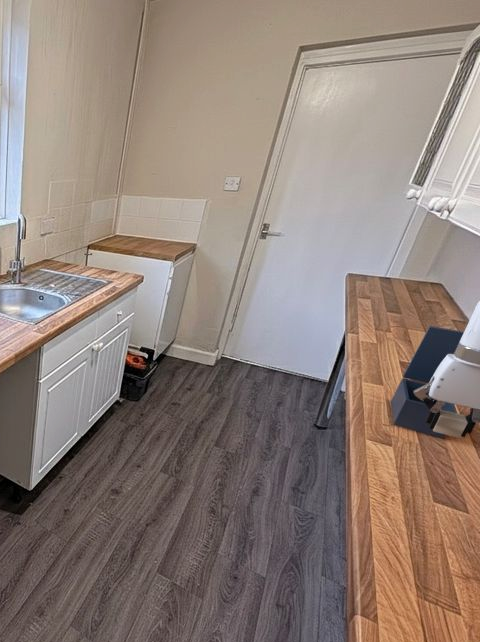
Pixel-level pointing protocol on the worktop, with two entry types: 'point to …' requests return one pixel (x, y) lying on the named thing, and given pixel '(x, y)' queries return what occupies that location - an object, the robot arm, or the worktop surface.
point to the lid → (432, 352)
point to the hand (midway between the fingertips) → (445, 429)
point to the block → (450, 423)
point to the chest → (413, 408)
